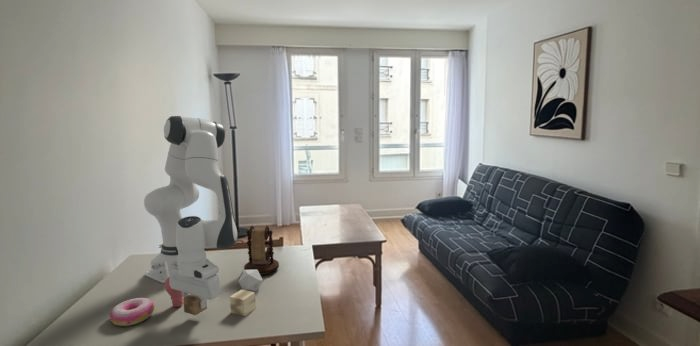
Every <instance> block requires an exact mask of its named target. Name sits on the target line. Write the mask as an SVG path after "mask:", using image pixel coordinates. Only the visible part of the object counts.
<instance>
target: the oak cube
mask: <svg viewBox="0 0 700 346" xmlns="http://www.w3.org/2000/svg"><path fill="white" fill-rule="evenodd" d="M256 301H257V299H256V291H252V292H251V291H246V290H243V289H242V288H241V289H240V290H238V291H237V292H235V293H233V294H232V295H230V296H229V303H230V305H229V306H230V313H231V314H234V315H239V316H242V317H246V316H247V315H249V314H250V313H251V312H253V311H255V310H256V308H257V303H256Z"/></svg>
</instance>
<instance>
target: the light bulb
mask: <svg viewBox="0 0 700 346" xmlns="http://www.w3.org/2000/svg"><path fill="white" fill-rule="evenodd" d="M164 289H165V291H166V293H168V294H167V295H169V296H170V300H171V304H172V306H173V307H175V308H177V307H180V306H182V305H184V300H183V298H184V297H183V295H182V292H181V291H178V290H175V289H172V288H171V287H170V285H169V277H168V278H167V279H166V281H165V283H164Z"/></svg>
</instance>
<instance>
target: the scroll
mask: <svg viewBox="0 0 700 346" xmlns="http://www.w3.org/2000/svg"><path fill="white" fill-rule="evenodd" d="M246 234H247V235H246V236H247V241H246V244H247V246H248V249H247V250H248V252H247V254H248V262H245V263H244V266H243V271H244V270H256V269H257V270H258V272H259V274H260V275H263V274H267V275H268V276H270V275H271V273H272V272H275V271H277V269H278V268H279V267H280V262H279V261H278V260H276V259H275V258H274V254H275V252H274V246H273V245H274V240H273V230H270V227H269V226H268V225H266V226H265V227H264V229H255V227H254V225H251V226H250V228H249V229H248V230H246ZM267 240H268V241H267ZM266 246H267V248H266Z"/></svg>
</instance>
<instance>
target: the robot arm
mask: <svg viewBox="0 0 700 346" xmlns="http://www.w3.org/2000/svg"><path fill="white" fill-rule="evenodd" d="M163 134H164V139H165V140H166V141H167V142H168V143H170V144H169V148H168V152H167V157H166V162H165V167H164V170H165V173H166V175H168V176H169V178H170V179H169V180H170V182H169V184H168V185H166V186H162V187H158V188H155V189H153V190H152V191H150V192H148V193H146V195H145V196H144V200H143V204H144V205H143V206H144V208H145V211H146V212H147V213H148V214H149V215H152V216H154V217H155V219H156V220H157V222H158V224H159V227H160V231H161V239H162V244H159V245H158V246H159V247H158V248H160V252H159V253H158V254H157V255H156V256H155V257H153V258H152V260H151V261H150V269H148V270H146V272H145V274H144V276H146V277H148V278H151V279H152V280H155V281H157V282H159V283H161V284H165V281H166V279H167V278H168V277H169V285H170V287H171V288H172V289H175V290H178V291H181V292H182V295H183V297H182V298H184V297H186V296H188V295H190V294H192V295H195V296H199V297H200V299H202V300H201V302H200V303H199V308H202V309H203V308H205V307H206V303H207V301H208V300H210V301H213V300H215V299H216V298H219V296H220V295H221V281H220V276H219V275H218V274H217V273H219V270H220V268H219V267H218V265H216V264H215V263H213V262H212V261H210V260H209V259H208V258H207V253H206V251H205V249H222V250H228V249H229V248H231V247H232V246H235V245H234V244H236V243H237V241H238V240H237V239H238V229H237V225H236V221H235V215H234V210H233V204H232V202H233V201H232V197H231V196H232V195H231V192H230V186H229V182H228V179H227V177H226V175H225V174H222V172H221V171H220V168H219V151H218V149H219V148H220V147H221V146H223V144H224V142H225V138H226V129H225V127H224V126H223V124H221V123H219V122H216V121H211V120H207V119H202V118H198V117H197V118H196V117H187V116H181V115H172V116H169V117H168V118H167V119H166V121H165V124H164V125H163ZM198 186H199V187H203V188H205V189H207V190H210V191H212V192H214V193H215V195H216V197H217V201H218V207H219V213H220V219H217V220H215V219H214V220H213V219H212V220H209V219H208V220H207V219H206V220H203V219H202V218H201V217H199V216H196V215H190V216H185V217H183V216H182V214H181V210H183V209H185V208H188V207H190V206H192V205H193V204H194V203H195V202H197V201H198V199H199V198H200V190H199V188H198Z"/></svg>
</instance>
